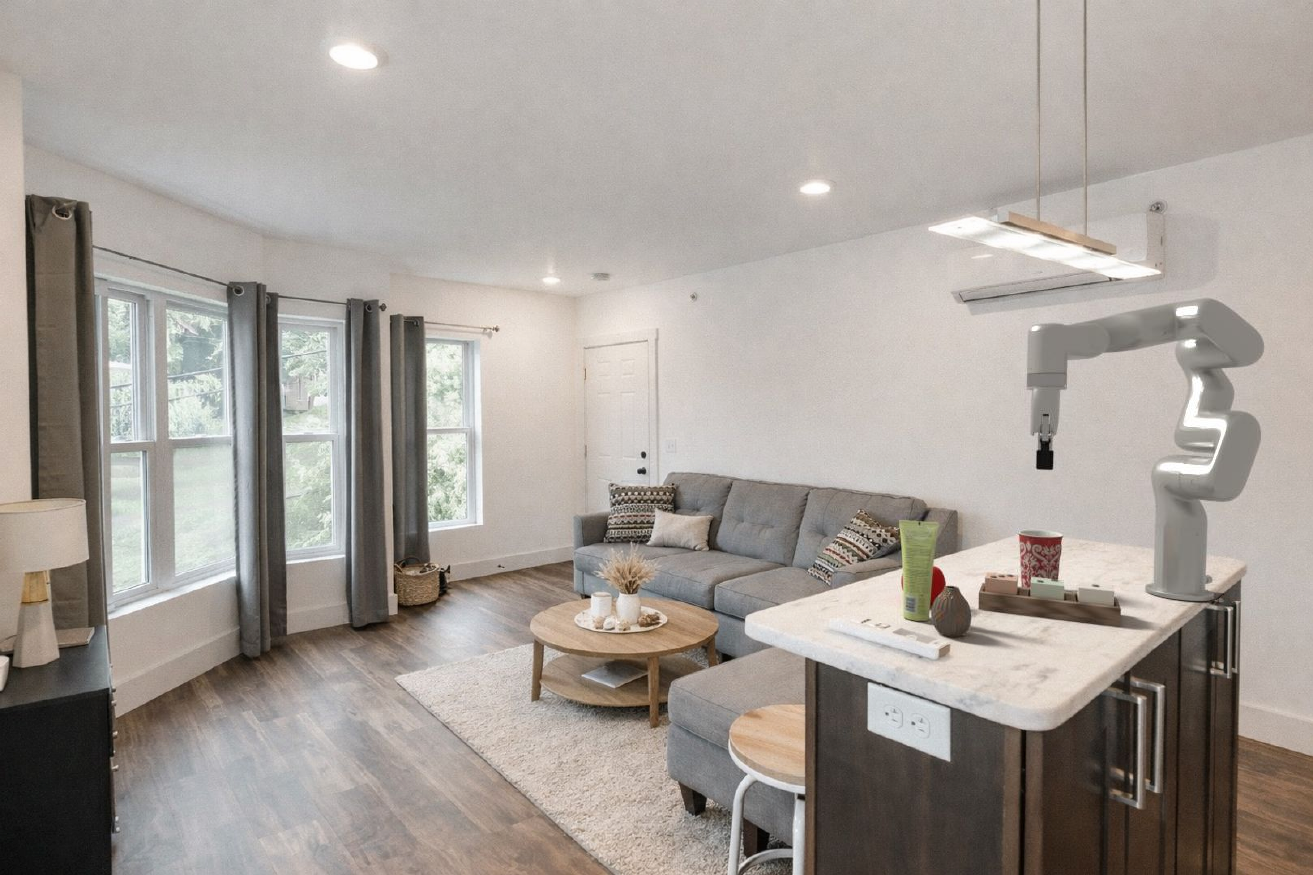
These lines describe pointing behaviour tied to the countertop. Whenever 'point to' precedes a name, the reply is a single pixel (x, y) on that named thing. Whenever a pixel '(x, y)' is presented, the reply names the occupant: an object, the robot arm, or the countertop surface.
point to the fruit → (935, 583)
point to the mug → (1039, 555)
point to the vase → (951, 613)
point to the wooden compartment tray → (1050, 607)
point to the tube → (917, 566)
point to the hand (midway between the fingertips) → (1044, 469)
